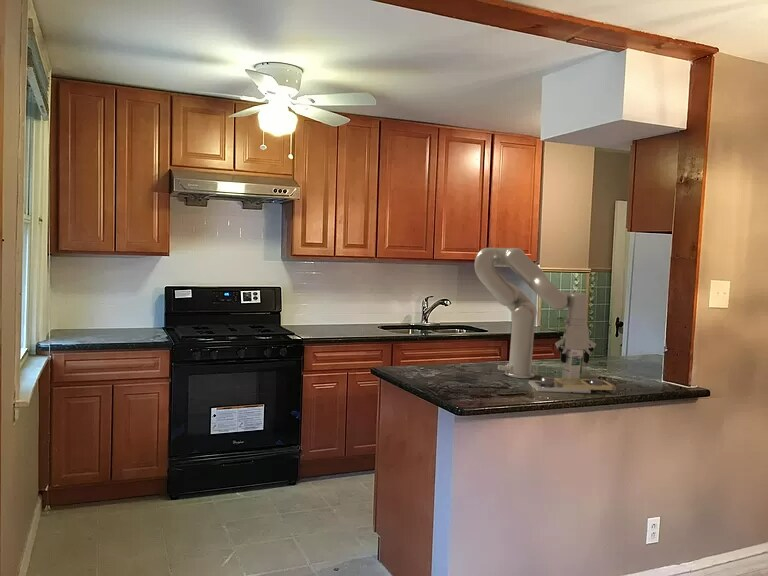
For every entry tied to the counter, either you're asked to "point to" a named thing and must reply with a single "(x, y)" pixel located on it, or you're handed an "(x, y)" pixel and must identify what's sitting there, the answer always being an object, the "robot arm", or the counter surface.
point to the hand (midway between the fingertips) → (574, 362)
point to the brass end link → (585, 384)
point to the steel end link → (549, 384)
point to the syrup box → (573, 364)
